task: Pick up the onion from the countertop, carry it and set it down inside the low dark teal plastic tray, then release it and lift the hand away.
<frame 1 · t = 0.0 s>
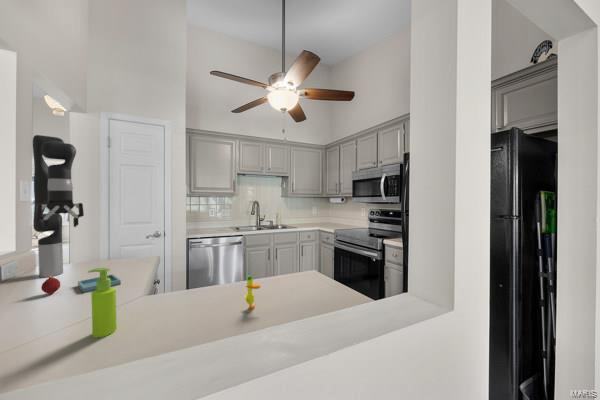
hand: (61, 227, 104), 29 cm above the countertop, tool pointing down, fingers open, 8 cm apart
toy figure: (252, 308, 92), on the countertop
tray: (99, 285, 117), on the countertop
soap dispenser: (103, 333, 76), on the countertop
onion: (51, 294, 107), on the countertop
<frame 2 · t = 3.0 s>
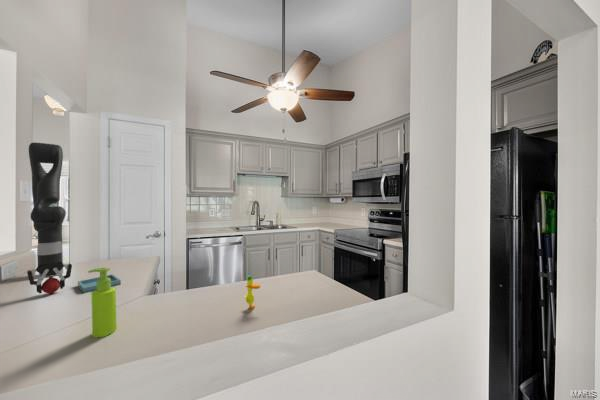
hand: (51, 290, 107), 2 cm above the countertop, tool pointing down, fingers closed on onion, 6 cm apart
onion: (51, 294, 107), on the countertop, touching gripper
everything else where it was.
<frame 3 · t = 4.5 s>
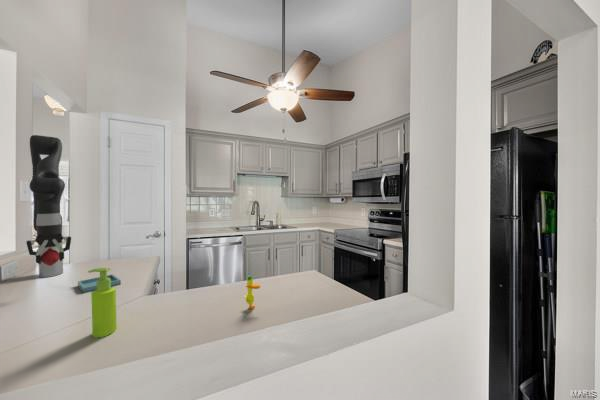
hand: (50, 262, 107), 14 cm above the countertop, tool pointing down, fingers closed on onion, 6 cm apart
onion: (50, 266, 107), point 12 cm above the countertop, touching gripper
everything else where it was.
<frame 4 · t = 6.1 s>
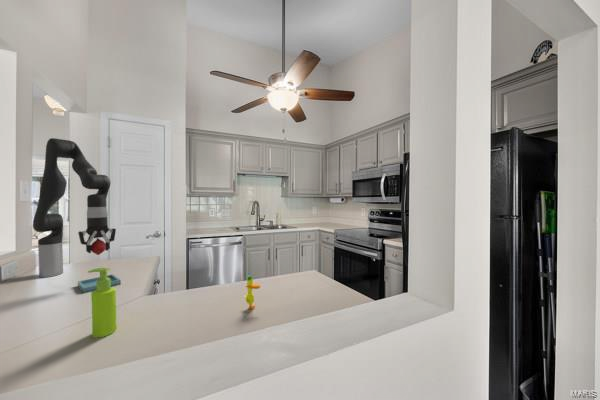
hand: (98, 251, 117), 16 cm above the countertop, tool pointing down, fingers closed on onion, 6 cm apart
onion: (98, 255, 117), point 14 cm above the countertop, touching gripper
everything else where it was.
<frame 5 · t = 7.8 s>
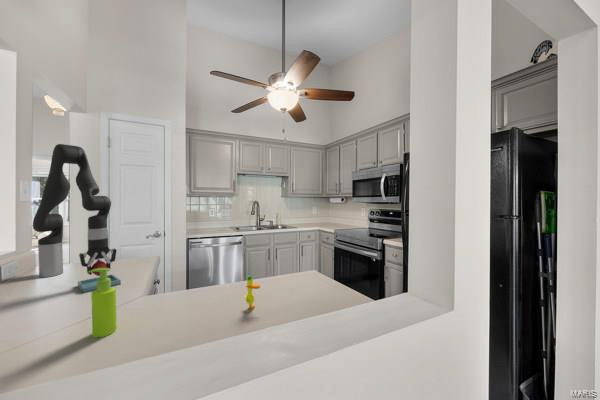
hand: (99, 272, 117), 6 cm above the countertop, tool pointing down, fingers closed on onion, 6 cm apart
onion: (99, 276, 117), point 4 cm above the countertop, touching gripper
everything else where it was.
when the fingers open (3 cm above the countertop, at t = 9.3 s): onion drops 1 cm, resting on tray.
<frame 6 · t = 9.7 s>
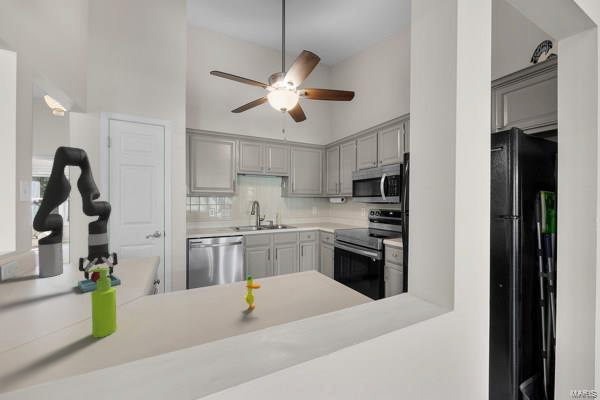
hand: (99, 276, 117), 4 cm above the countertop, tool pointing down, fingers open, 8 cm apart
onion: (98, 284, 117), resting on tray
everything else where it was.
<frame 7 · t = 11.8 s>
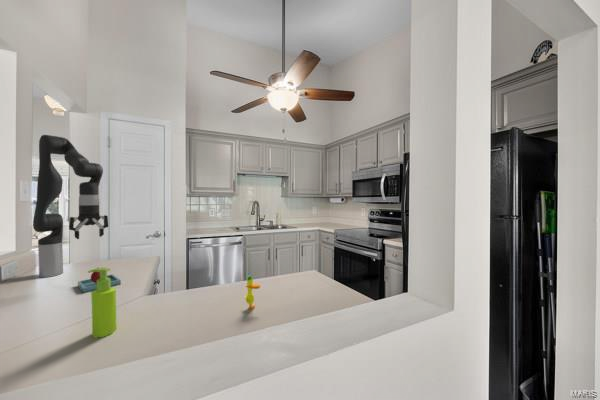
hand: (89, 237, 119), 23 cm above the countertop, tool pointing down, fingers open, 8 cm apart
nothing on the countertop moved.
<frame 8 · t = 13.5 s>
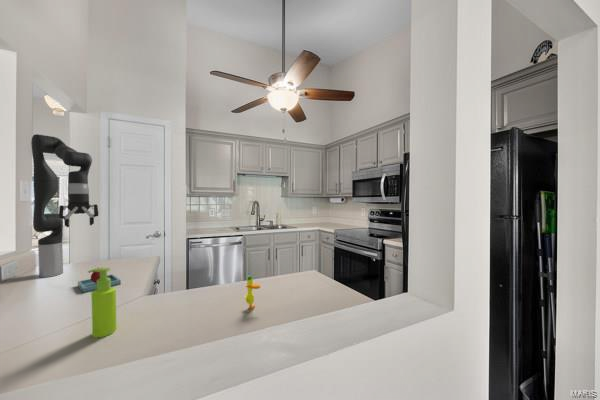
hand: (79, 226, 120), 28 cm above the countertop, tool pointing down, fingers open, 8 cm apart
nothing on the countertop moved.
at the end: onion inside the target area on the tray (0.2 cm from its centre), point 0.4 cm above the tray's base; the gripper is holding nothing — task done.
